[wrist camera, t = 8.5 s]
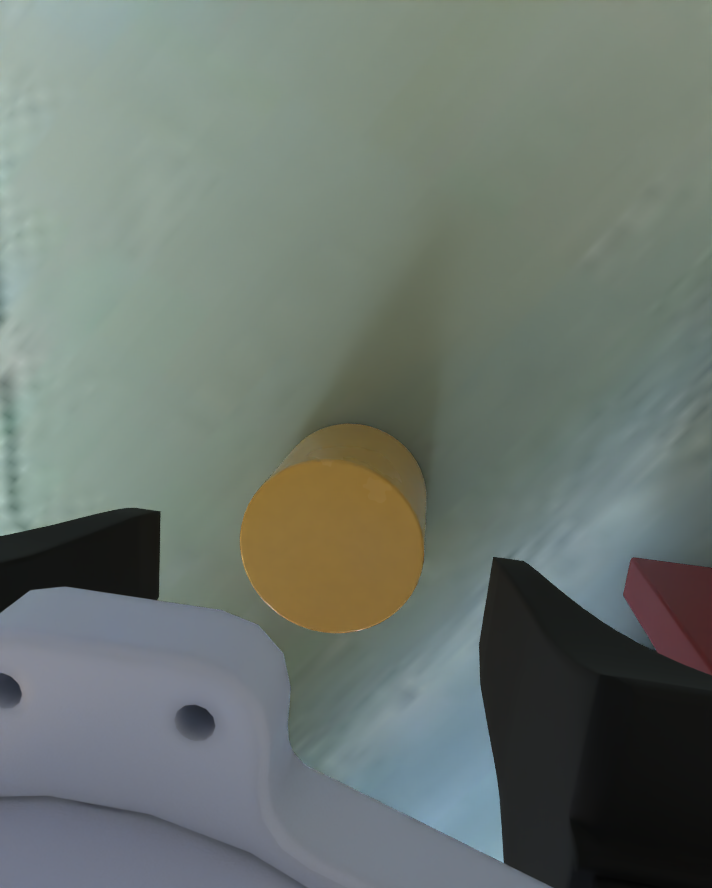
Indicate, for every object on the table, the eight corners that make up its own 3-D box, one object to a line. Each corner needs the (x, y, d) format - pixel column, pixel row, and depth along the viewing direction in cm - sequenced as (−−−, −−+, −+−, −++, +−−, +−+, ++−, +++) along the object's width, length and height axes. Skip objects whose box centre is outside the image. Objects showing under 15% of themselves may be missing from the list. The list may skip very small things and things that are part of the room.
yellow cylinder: (274, 554, 20) (234, 620, 16) (283, 414, 19) (243, 448, 15) (416, 574, 19) (412, 647, 15) (435, 432, 18) (435, 472, 14)
